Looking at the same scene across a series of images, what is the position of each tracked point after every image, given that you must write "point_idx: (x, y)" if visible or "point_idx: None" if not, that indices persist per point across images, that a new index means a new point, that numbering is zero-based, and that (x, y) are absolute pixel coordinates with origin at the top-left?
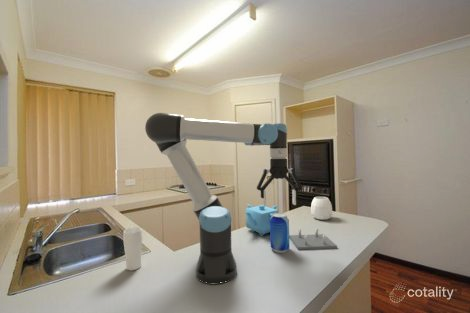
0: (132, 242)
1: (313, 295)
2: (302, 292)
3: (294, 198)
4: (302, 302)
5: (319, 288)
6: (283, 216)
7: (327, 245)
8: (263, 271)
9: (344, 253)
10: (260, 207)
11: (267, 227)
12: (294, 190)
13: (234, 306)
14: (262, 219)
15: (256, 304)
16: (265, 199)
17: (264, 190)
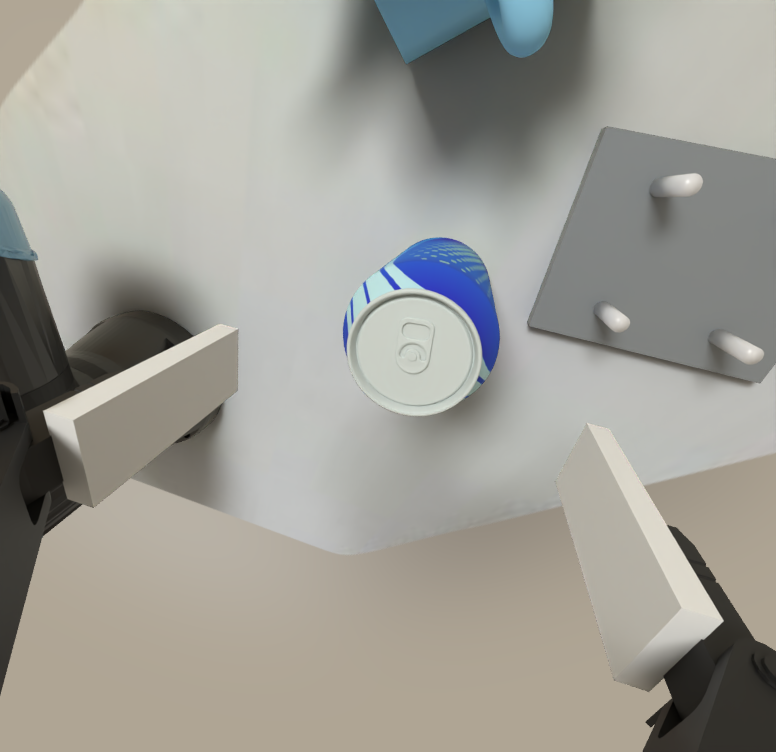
0: None
1: (395, 544)
2: (375, 528)
3: (579, 549)
4: (357, 548)
5: (426, 534)
6: (431, 395)
7: (708, 363)
8: (306, 420)
9: (721, 428)
10: None
11: (456, 16)
12: (639, 674)
13: (214, 505)
14: (383, 11)
15: (259, 517)
16: (186, 428)
17: (72, 424)
